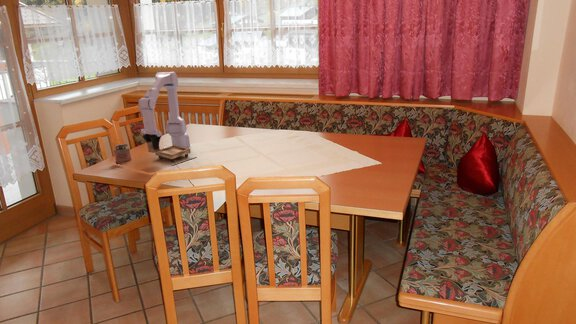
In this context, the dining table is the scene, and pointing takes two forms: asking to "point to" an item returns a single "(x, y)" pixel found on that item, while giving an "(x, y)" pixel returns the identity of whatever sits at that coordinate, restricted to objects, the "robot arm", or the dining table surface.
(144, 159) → the dining table surface
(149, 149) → the block
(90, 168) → the dining table surface
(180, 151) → the tray
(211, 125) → the dining table surface
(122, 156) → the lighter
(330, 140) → the dining table surface
